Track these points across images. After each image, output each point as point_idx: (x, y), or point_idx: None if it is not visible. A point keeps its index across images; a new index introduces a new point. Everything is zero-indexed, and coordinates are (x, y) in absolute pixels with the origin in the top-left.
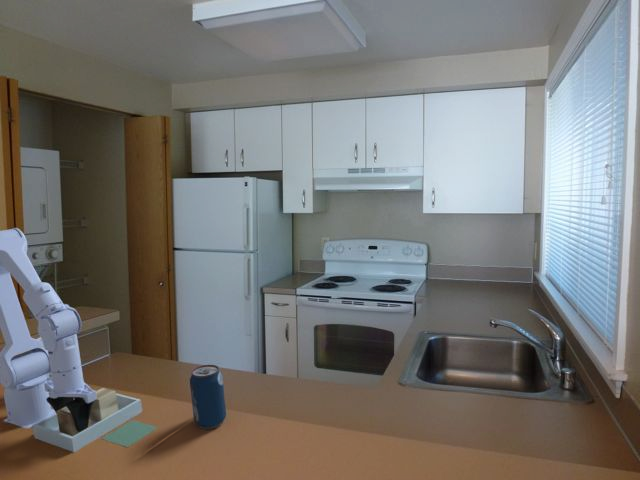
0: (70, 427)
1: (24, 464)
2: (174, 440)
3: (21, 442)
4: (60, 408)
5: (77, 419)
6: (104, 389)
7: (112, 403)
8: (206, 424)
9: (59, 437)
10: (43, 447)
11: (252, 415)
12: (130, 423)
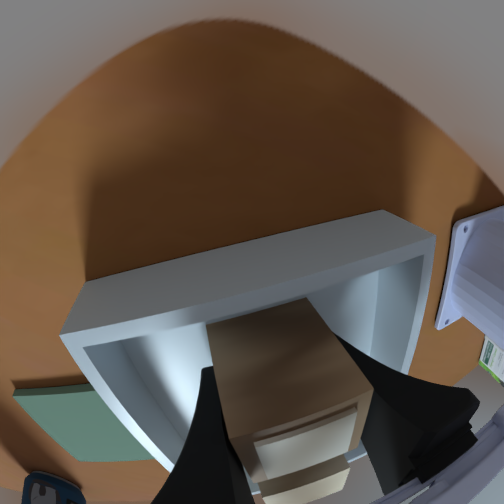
0: (223, 368)
1: (210, 82)
2: (15, 440)
3: (413, 169)
4: (374, 405)
5: (189, 430)
6: (326, 494)
7: None
8: (25, 478)
9: (181, 295)
10: (292, 208)
11: None
12: None
